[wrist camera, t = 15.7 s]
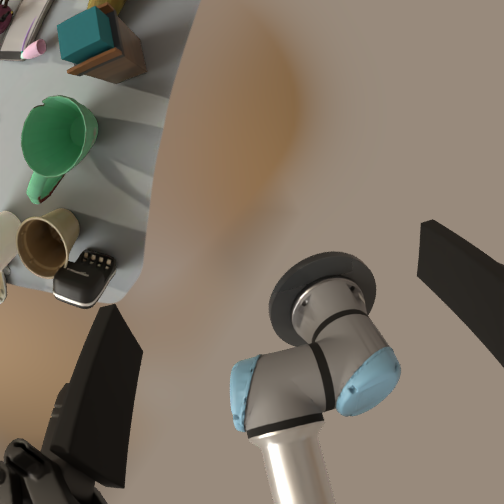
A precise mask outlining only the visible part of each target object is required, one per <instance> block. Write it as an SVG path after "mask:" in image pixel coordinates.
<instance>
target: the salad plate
mask: <svg viewBox="0 0 504 504" xmlns="http://www.w3.org/2000/svg"><path fill="white" fill-rule="evenodd" d="M4 273H5V274H6V275H9V274H10V269H9V267H8V266H6V267H5V268H4V269H3V270H2V271H1V272H0V304H1V303H2V302H4V300H5V299H6V297H7V286H6V277H5V274H4Z"/></svg>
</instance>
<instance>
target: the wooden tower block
mask: <svg viewBox="0 0 504 504" xmlns="http://www.w3.org/2000/svg"><path fill="white" fill-rule="evenodd" d="M117 18H118V24H119V29H120V34H121V39H122V44H123V49H124V54H125V57H122V58H120V59H117V60H115V61H112V62H110V63H108V64H105V65H103V66H101V67H99V68H96V69H94V70H92V71H90V72H88V73H86V74H84V75H87V76H91V77H94V78H98V79H101V80H104V81H108V82H111V83H114V84H117V83H120V82H122V81H125V80H127V79H130V78H132V77H135V76H138V75H141V74H143V73H146V72H147V68H146V64H145V60H144V56H143V51H142V47H141V42H140V39H139V38H138V37H137V36H136V35H135V34H134V33H133V32H132V31H131V29H130V28H129V27H128V26H127V25H126V24H125V23H124V22H123V21H122V20H121V19H120V18H119V17H118V16H117Z"/></svg>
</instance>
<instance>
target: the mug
mask: <svg viewBox="0 0 504 504" xmlns="http://www.w3.org/2000/svg"><path fill="white" fill-rule="evenodd" d="M42 102H43V103H44V105H38V106H36V107H34V108H33V109H32V110H31V111H30V113H29V115H28V117H27V118H26V120H25V122H24V126H23V130H22V134H21V147H22V151H23V155H24V158H25V160H26V162H27V164H28V165H29V167H30V168H31V169H32V170H33V171H34V172H33V175H32V177H31V180H30V182H29V185H28V189H27V192H26V193H27V195H28V197H29V198H30V200H31V202H32V203H34V204H41V203H42V202H43V201H45V200H46V199H47V198H48V197H49V196H51V194H52V193H53V191H54V190H55V188H56V187H57V185H58V184H59V182H60V181H61V180H62V178H63V177H64V175H65V174H66V173H67V172H69V171H70V170H71V169H73V168H74V167H75V166H76V165H77V164H78V163H79V162H80V161H81V160H82V159H83V158H84V157H85V156H86V155H87V153H88V152H89V150H90V149H91V147H92V146H93V144H94V143H95V141H96V138H97V135H98V123H97V120H96V118H95V117H94V115H93V114H92V112H91V111H90V110H89V109H87V108H86V107H85V106H84V105H82V104H80V103H78V102H77V101H76V100H74V99H73V98H69V97H66V96H62V95H58V96H51V97H48V98H46V99H44V100H43V101H42Z"/></svg>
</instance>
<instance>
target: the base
mask: <svg viewBox="0 0 504 504" xmlns="http://www.w3.org/2000/svg"><path fill="white" fill-rule="evenodd" d="M97 8H98V9H100V10H101V11H102V12H103V13H104V14H105V15H106V16H107V17H109V22H110V27H111V33H112V38H113V43H114V48H112V49H110V50H108V51H105V52H103V53H101V54H99V55H96V56H94V57H92V58H90V59H88V60H86V61H84V62H82V63H80V64H75V63H74V67H72V68H70V69H68V70H67V73H68V74H72V75H77V76H82V75H84V74H86V73H88V72H90V71H92V70H94V69H96V68H99V67H101V66H103V65H105V64H108V63H110V62H112V61H115V60H117V59H120V58H122V57H125V54H124V49H123V44H122V39H121V34H120V29H119V24H118V18H117V13H116V10H115V9H114V8H113V7H112V6H111V5H110V4H109V3H108V2H106V3H104V4H102V5H99V6H97Z"/></svg>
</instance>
